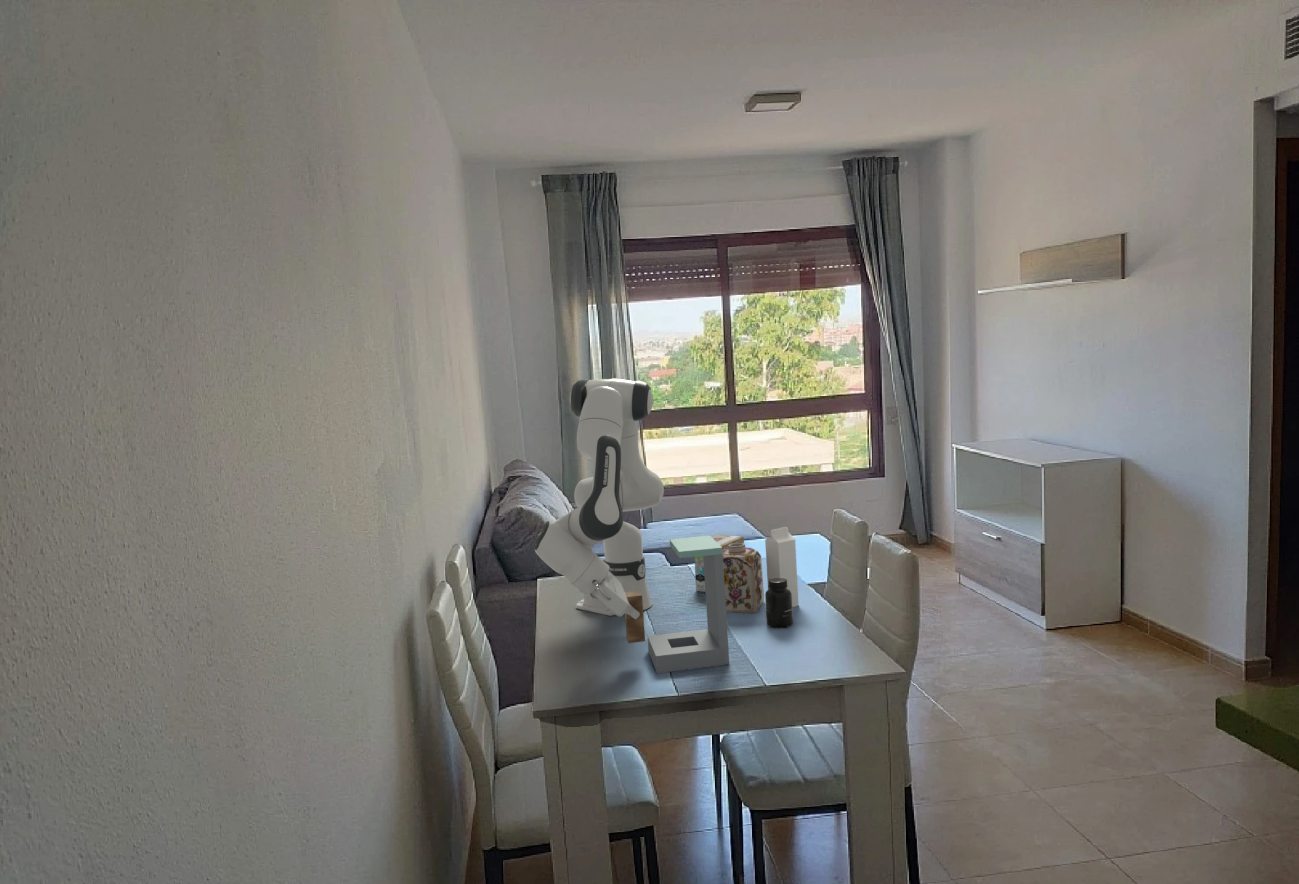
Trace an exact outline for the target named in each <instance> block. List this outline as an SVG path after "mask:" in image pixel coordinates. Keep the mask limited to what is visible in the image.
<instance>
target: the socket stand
mask: <svg viewBox="0 0 1299 884" xmlns="http://www.w3.org/2000/svg"><path fill="white" fill-rule="evenodd" d="M712 537H713V536H711V535H701V536H700V535H699V536H693V537H682V538H681V537H680V538H670V539H669V546H670V547H671V549H672V550H673V551H674V553H675V554H676V555H677V556H678V558H679V559H685V558H695V557H697V556H703V560H704V576H705V591H706V592H705V605H706V607H705V608H706V619H707V622H706V623H707V629H698V630H697V629H696V630H687V631H681V632H671V633H670V632H669V633H661V634H660V633H659V634H652V635H647V646H648V647H647V648H648V649H647V650H648V653H649V656H650V659H651V661H652V663H653V666H654V668H655V670H656V671H655V672H656V673H657V674H660V673H670V672H679V671H686V669H688V670H694V668H697V669H703V668H702V667H705V668H711V667H710V666H714V667H721V666H723V665H729V664H730V655H729V653H730V652H729V637H728V619H727V612H726V601H725V585H724V569H723V552H722V547H721V546H720V545H719V544H718V543H717V542H716V541H715V540H714V539H713V538H712Z"/></svg>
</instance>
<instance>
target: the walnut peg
mask: <svg viewBox="0 0 1299 884" xmlns="http://www.w3.org/2000/svg"><path fill="white" fill-rule="evenodd" d="M625 594H626V597H627V599H628V602H629V604H630V605H631V606H632V607H633V608H635V609H636V610H638V611H639V613H640V616H639V617H638V618H637V619H634V618H633V617H631V616H630V615H628V614H626V613H624V620H625V634H626V635H625V636H626V640H627V642H628V643H627V644H631V643H633V644H634V643H641V642H642V643H643V642H646V633H645V618H644V616H645V615H644V610H643V602H642V594H641V592H640V591H635V592H625Z"/></svg>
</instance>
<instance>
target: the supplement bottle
mask: <svg viewBox="0 0 1299 884" xmlns="http://www.w3.org/2000/svg"><path fill="white" fill-rule="evenodd" d="M768 587H769V588H770V589H769V590H768V589H767V590H766V591H765V594H764V599H765V617H766V618H765V619H766V624H767V626H768V627H769V628H773V629H786V628H790V627H791V626H792V625H793V623H794V620H793V619H794V618H793V616H794V615H793V607H792V594H791V591H790V590H788V589H787V587H788V585H787V579H784V578H773V579H769V585H768V584H767V588H768Z"/></svg>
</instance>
